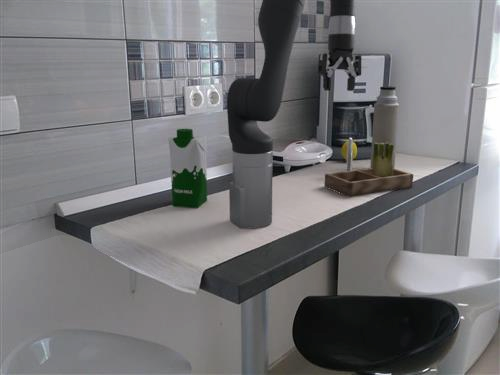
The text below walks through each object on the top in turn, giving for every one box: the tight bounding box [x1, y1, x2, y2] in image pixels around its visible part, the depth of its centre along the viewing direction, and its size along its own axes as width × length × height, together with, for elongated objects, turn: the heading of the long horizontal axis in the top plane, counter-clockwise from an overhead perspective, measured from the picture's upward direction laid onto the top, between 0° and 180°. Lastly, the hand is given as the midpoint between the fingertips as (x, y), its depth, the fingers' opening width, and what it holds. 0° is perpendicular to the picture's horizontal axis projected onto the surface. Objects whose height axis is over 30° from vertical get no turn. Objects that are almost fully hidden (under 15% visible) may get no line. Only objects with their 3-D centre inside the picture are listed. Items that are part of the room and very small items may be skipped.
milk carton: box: [168, 128, 208, 209], centre depth 130 cm, size 9×9×20 cm
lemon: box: [341, 140, 358, 161], centre depth 182 cm, size 6×6×8 cm
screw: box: [340, 137, 354, 172], centre depth 158 cm, size 13×5×5 cm
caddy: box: [324, 167, 414, 198], centre depth 147 cm, size 23×12×4 cm, turn 116°
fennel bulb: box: [372, 142, 394, 177], centre depth 149 cm, size 6×5×12 cm
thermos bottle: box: [369, 85, 400, 169], centre depth 166 cm, size 8×8×28 cm
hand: (339, 90), depth 147 cm, fingers open, 8 cm apart
